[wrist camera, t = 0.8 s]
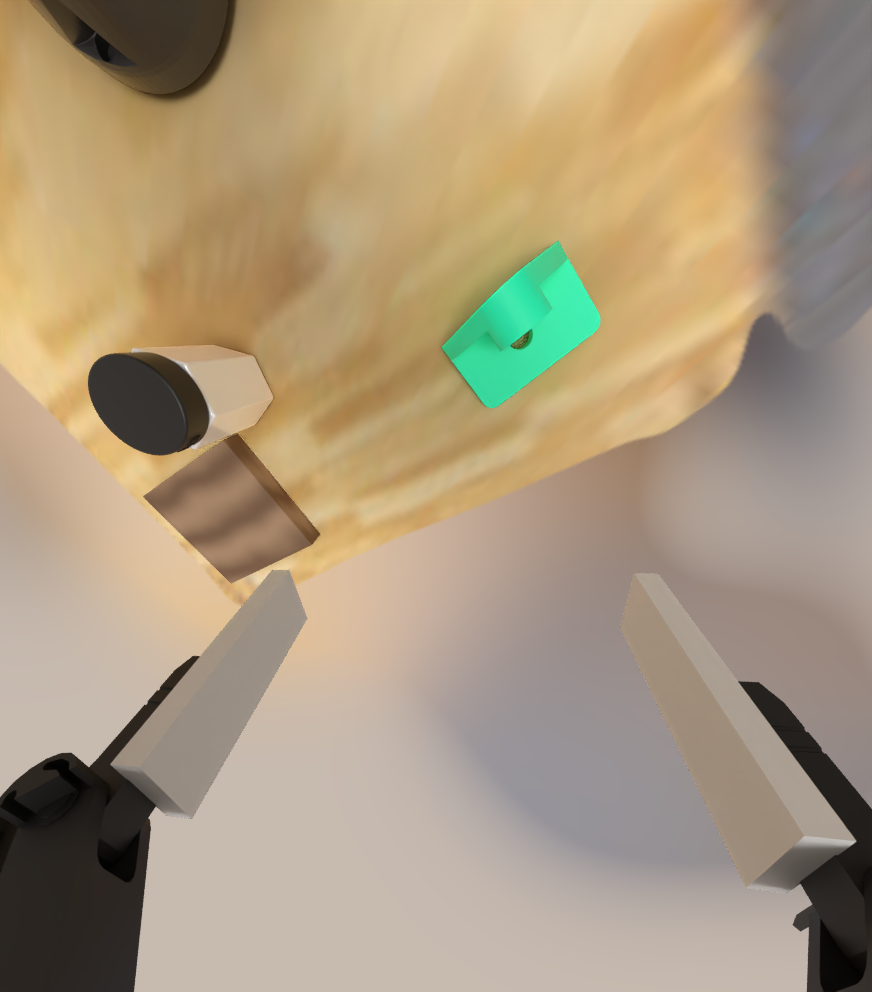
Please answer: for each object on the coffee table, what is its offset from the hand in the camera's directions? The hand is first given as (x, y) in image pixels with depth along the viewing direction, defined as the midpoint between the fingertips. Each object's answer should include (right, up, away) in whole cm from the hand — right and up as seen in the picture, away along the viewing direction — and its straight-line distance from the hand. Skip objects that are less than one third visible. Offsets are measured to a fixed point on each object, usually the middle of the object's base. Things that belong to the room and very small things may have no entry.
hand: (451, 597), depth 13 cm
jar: (-23, +16, +24) cm, 37 cm away
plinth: (-27, +2, +31) cm, 42 cm away
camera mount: (+7, +20, +18) cm, 28 cm away
